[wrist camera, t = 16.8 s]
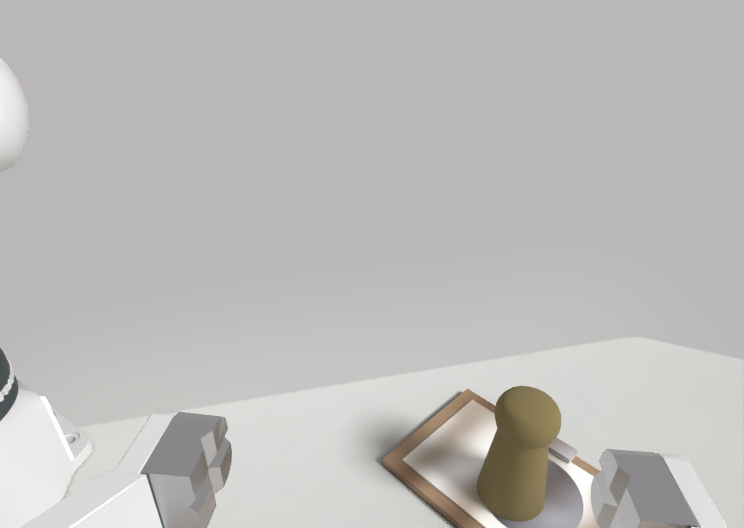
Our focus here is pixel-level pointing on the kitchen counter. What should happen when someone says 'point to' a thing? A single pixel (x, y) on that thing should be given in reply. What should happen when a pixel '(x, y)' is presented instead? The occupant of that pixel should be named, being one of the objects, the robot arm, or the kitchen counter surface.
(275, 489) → the kitchen counter surface
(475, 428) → the clipboard
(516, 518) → the cork
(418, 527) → the kitchen counter surface
